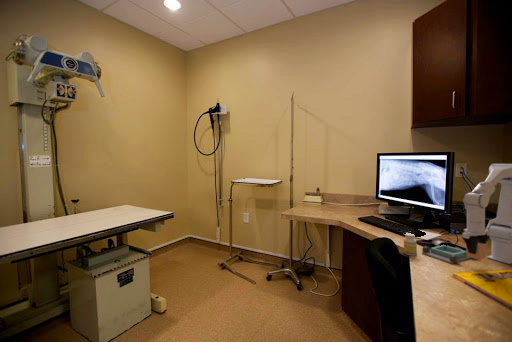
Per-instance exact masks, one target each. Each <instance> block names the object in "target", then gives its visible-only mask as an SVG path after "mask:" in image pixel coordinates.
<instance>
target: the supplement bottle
mask: <svg viewBox="0 0 512 342" xmlns="http://www.w3.org/2000/svg"><path fill="white" fill-rule="evenodd" d="M405 233H406V234H404V235H405V236H404V238H403V253H404V254H406V255H408V256H417V254H418V253H417V252H418V249H417V239H416V237H415V235H414V234H411V233H408V232H405Z"/></svg>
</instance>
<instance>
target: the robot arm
mask: <svg viewBox="0 0 512 342" xmlns="http://www.w3.org/2000/svg"><path fill="white" fill-rule="evenodd" d="M488 173H489V174H488V175H487V177H486V179H485V180H484V181H480V182H479V183H478V184H477V185H476V186H475V187H474V189H472V191H471V192H467V193H465V194H464V196H463V199H462V201H463V205H464V209H465V210H466V228H463V232H462V234H461V238H462V240H463V241H464V244H465V246H466V245H467V248H468V252H469V253H471V254H476V250H477V245H478V242H480V243H484V244H485V245H486V244H487V243H488V241H489V240H491V254H490V255H488V256H486V258H487V259H491V260H494V261H497V262H501V263H504V264H508V265H509V264H510V265H511V264H512V163H492V164H490V166H489V168H488ZM499 183H500V185H501V188H500V194H499V198H498V199H499V200H498V206H497V210H496V217H495V218H493V219H490V220H489V221H488V224H487V226H486V208H487V206H488V205H489V203H490V199H491V198H490V197H491V195H493V193H495V191H496V185H498V184H499Z"/></svg>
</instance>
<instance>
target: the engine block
mask: <svg viewBox="0 0 512 342" xmlns="http://www.w3.org/2000/svg"><path fill="white" fill-rule="evenodd" d="M465 247H466V249H465V251H466V256H468V257H472V258H471V259H476V260H479V261H480V260H482V259H486V244H484V243H480V242H478V245H477V250H476V254H471V253H469V252H468V248H467V245H466V244H465Z"/></svg>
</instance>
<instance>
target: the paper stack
mask: <svg viewBox="0 0 512 342" xmlns="http://www.w3.org/2000/svg"><path fill="white" fill-rule="evenodd" d="M419 230H420V231H422V232H425V233H426V235H424V236H421V237H416V238H417V239H418V238H419V239H422V240H426V241H429V240H431V239H434V238H439V237H440V236H441V237H442V234H440V233H435V232H432V231H431V232H430V231H427V230H422V229H419Z"/></svg>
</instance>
